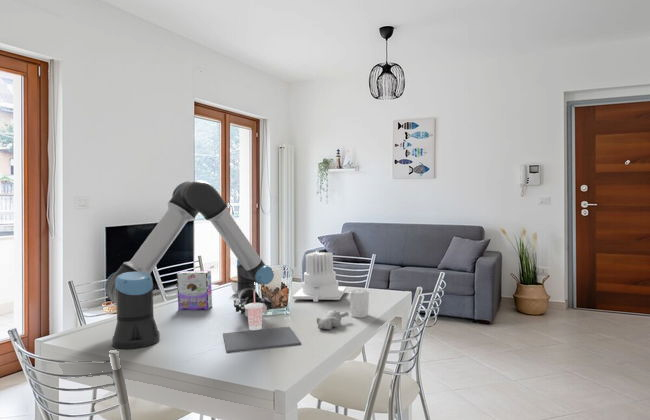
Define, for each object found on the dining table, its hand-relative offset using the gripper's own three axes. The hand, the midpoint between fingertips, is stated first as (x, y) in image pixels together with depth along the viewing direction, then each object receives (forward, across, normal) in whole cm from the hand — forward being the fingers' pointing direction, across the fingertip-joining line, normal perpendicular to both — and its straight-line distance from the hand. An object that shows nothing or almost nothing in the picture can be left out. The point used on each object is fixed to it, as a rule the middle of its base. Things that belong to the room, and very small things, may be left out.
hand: (256, 311), depth 170 cm
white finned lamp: (-49, -37, -8) cm, 61 cm away
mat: (+9, 0, -8) cm, 12 cm away
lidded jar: (-70, -1, -8) cm, 71 cm away
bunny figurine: (+1, -28, -8) cm, 29 cm away
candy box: (-46, +21, -8) cm, 52 cm away
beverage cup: (-5, 0, -8) cm, 9 cm away
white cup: (-9, -42, -8) cm, 44 cm away
